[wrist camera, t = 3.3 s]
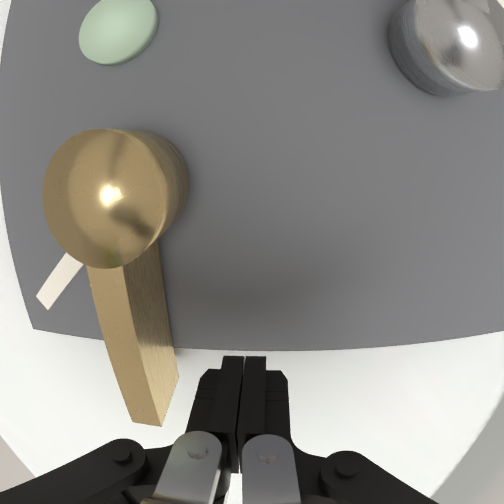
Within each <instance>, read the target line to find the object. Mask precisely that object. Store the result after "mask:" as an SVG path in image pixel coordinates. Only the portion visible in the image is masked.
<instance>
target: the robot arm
mask: <svg viewBox="0 0 504 504" xmlns="http://www.w3.org/2000/svg"><path fill="white" fill-rule="evenodd" d="M239 464H240V472H241V474H242V496H243V504H438V503H437V502H435V501H433V500H432V499H430V498H428V497H426V496H425V495H423V494H421V493H420V492H418V491H417V490H415V489H413V488H412V487H410V486H408V485H407V484H405V483H404V482H402V481H401V480H399V479H397V478H396V477H394V476H393V475H391V474H390V473H388V472H387V471H385V470H384V469H382V468H381V467H379V466H378V465H376V464H375V463H373V462H372V461H370V460H369V459H367V458H366V457H365V456H363V455H361V454H360V453H357V452H354V451H339V452H336V453H333V454H331V455H330V456H328V457H327V458H325V457H320V456H315V455H310V454H307V453H305V452H303V451H301V450H300V449H298V448H297V447H296V446H295V445H294V443H293V441H292V439H291V434H290V415H289V397H288V381H287V379H286V377H285V376H284V374H283V373H282V371H281V370H266V356H246V358H245V357H244V356H224V357H223V361H222V366H221V369H208V370H207V371H206V372H205V373H204V374H203V376H202V377H201V378H200V381H199V385H198V388H197V392H196V395H195V399H194V403H193V406H192V410H191V414H190V417H189V421H188V425H187V428H186V431H185V434H183V435H181V436H180V437H179V438H178V439H177V440H176V441H175V442H174V444H172V445H170V446H167V447H162V448H153V449H143V447H142V446H141V445H140V444H139V443H137V442H136V441H134V440H131V439H116V440H113V441H111V442H109V443H107V444H105V445H103V446H101V447H99V448H97V449H95V450H93V451H91V452H89V453H88V454H86V455H84V456H82V457H80V458H77V459H75V460H73V461H71V462H69V463H67V464H65V465H63V466H61V467H59V468H57V469H54V470H52V471H50V472H48V473H46V474H43V475H41V476H39V477H37V478H34V479H32V480H30V481H27V482H25V483H23V484H20V485H18V486H15V487H13V488H10V489H8V490H5V491H3V492H0V504H226V502H227V498H228V493H229V486H230V477H231V473H237V474H239Z"/></svg>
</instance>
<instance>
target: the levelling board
mask: <svg viewBox="0 0 504 504" xmlns="http://www.w3.org/2000/svg"><path fill="white" fill-rule="evenodd" d="M408 1H410V0H12V2H11V6H10V10H9V15H8V19H7V24H6V30H5V35H4V41H3V48H2V55H1V64H0V186H1V195H2V203H3V210H4V216H5V222H6V228H7V234H8V239H9V244H10V248H11V253H12V258H13V262H14V266H15V270H16V274H17V278H18V282H19V285H20V289H21V292H22V296H23V299H24V302H25V306H26V309H27V312H28V315H29V318H30V321H31V324H32V327H33V329H37V330H42V331H47V332H53V333H59V334H65V335H71V336H78V337H84V338H91V339H99V340H104V338H103V334H102V331H101V327H100V323H99V319H98V316H97V312H96V308H95V304H94V299H93V295H92V291H91V286H90V282H89V277H88V272H87V267H86V265H85V264H82V263H81V262H79V261H77V260H75V259H74V258H73V257H71V256H70V255H69V254H68V253H67V252H66V251H64V250H63V248H62V247H61V246H60V245H59V244H58V242H57V241H56V239H55V238H54V236H53V234H52V232H51V231H50V228H49V226H48V223H47V221H46V217H45V213H44V208H43V199H42V193H43V182H44V177H45V173H46V170H47V167H48V165H49V163H50V161H51V159H52V157H53V155H54V154H55V152H56V151H57V150H58V148H59V147H60V146H61V145H62V144H63V143H64V142H65V141H67V140H68V139H69V138H71V137H72V136H74V135H76V134H78V133H80V132H83V131H86V130H90V129H119V130H139V131H149V132H153V133H156V134H158V135H161V136H162V137H164V138H166V139H167V140H168V141H170V142H171V143H172V144H173V145H174V146H175V147H176V148H177V149H178V151H179V152H180V154H181V155H182V157H183V159H184V161H185V164H186V166H187V170H188V174H189V195H188V199H187V203H186V205H185V208H184V210H183V212H182V214H181V215H180V217H179V218H178V219H177V221H176V222H175V223H174V224H173V225H172V226H171V227H170V228H168V229H167V230H166V231H165V232H164V233H163V234H162V235H161V236H160V237H159V238H158V243H159V253H160V261H161V269H162V277H163V285H164V292H165V299H166V306H167V312H168V319H169V325H170V331H171V337H172V343H173V347H177V348H192V349H211V350H238V351H313V350H340V349H358V348H373V347H386V346H397V345H408V344H417V343H426V342H434V341H442V340H450V339H457V338H464V337H470V336H476V335H482V334H488V333H494V332H499V331H504V89H496V90H489V91H482V92H475V93H469V94H463V95H457V96H451V97H442V96H437V95H433V94H431V93H428V92H426V91H425V90H423V89H421V88H420V87H418V86H417V85H416V84H415V83H413V82H412V81H411V80H410V79H409V78H408V77H407V76H406V75H405V73H404V72H403V71H402V70H401V68H400V67H399V65H398V63H397V62H396V60H395V58H394V56H393V53H392V51H391V47H390V43H389V34H388V32H389V25H390V22H391V19H392V17H393V16H394V15H395V13H396V12H397V11H399V10H400V9H401V8H402V7H403V6H404V5H405V4H406V3H407V2H408ZM497 1H498V2H499V3H500V4H501V6H502V7H503V8H504V0H497Z"/></svg>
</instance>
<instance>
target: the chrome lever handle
mask: <svg viewBox="0 0 504 504" xmlns="http://www.w3.org/2000/svg"><path fill="white" fill-rule="evenodd" d="M388 34H389V43H390V47H391V51H392V53H393V56H394V58H395V60H396V62H397V63H398V65H399V67H400V68H401V70H402V71H403V72H404V73H405V75H406V76H407V77H408V78H409V79H410V80H411V81H412V82H413V83H415V84H416V85H417V86H418V87H420V88H421V89H423V90H425V91H426V92H428V93H431V94H433V95H437V96H442V97H451V96H457V95H463V94H469V93H475V92H482V91H489V90H496V89H504V8H503V7H502V6H501V4H500V3H499V2H498V1H497V0H410V1H408V2H407V3H406V4H405V5H404V6H403V7H402V8H401V9H400V10H399V11H397V12H396V13H395V15H394V16H393V17H392V19H391V22H390V25H389V32H388Z"/></svg>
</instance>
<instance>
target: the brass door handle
mask: <svg viewBox="0 0 504 504" xmlns="http://www.w3.org/2000/svg"><path fill="white" fill-rule="evenodd" d="M188 195H189V174H188V170H187V166H186V164H185V161H184V159H183V157H182V155H181V154H180V152H179V151H178V149H177V148H176V147H175V146H174V145H173V144H172V143H171V142H170V141H168V140H167V139H166V138H164V137H162V136H161V135H158V134H156V133H153V132H149V131H139V130H119V129H90V130H86V131H83V132H80V133H78V134H76V135H74V136H72V137H71V138H69V139H68V140H67V141H65V142H64V143H63V144H62V145H61V146H60V147H59V148H58V150H57V151H56V152H55V154H54V155H53V157H52V159H51V161H50V163H49V165H48V167H47V170H46V173H45V177H44V182H43V193H42V199H43V208H44V213H45V217H46V221H47V223H48V226H49V228H50V231H51V232H52V234H53V236H54V238H55V239H56V241H57V242H58V244H59V245H60V246H61V247H62V248H63V250H64V251H66V252H67V253H68V254H69V255H70V256H71V257H73V258H74V259H75V260H77V261H79V262H81V263H82V264H85V265H86V267H87V272H88V277H89V282H90V286H91V291H92V295H93V299H94V304H95V308H96V312H97V316H98V319H99V323H100V327H101V331H102V334H103V338H104V341H105V345H106V348H107V351H108V354H109V358H110V361H111V364H112V367H113V370H114V373H115V376H116V379H117V382H118V385H119V387H120V390H121V393H122V396H123V398H124V401H125V404H126V406H127V409H128V412H129V414H130V417H131V419H132V422H136V423H141V424H147V425H154V426H160V427H162V424H163V421H164V418H165V416H166V413H167V410H168V407H169V404H170V401H171V398H172V395H173V392H174V390H175V387H176V384H177V381H178V378H179V375H178V370H177V364H176V359H175V354H174V348H173V343H172V337H171V331H170V325H169V319H168V312H167V306H166V299H165V292H164V285H163V277H162V269H161V261H160V253H159V243H158V238H159V237H160V236H161V235H162V234H163V233H164V232H165V231H166V230H167V229H168V228H170V227H171V226H172V225H173V224H174V223H175V222H176V221H177V219H178V218H179V217H180V215H181V214H182V212H183V210H184V208H185V205H186V203H187V199H188Z"/></svg>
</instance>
